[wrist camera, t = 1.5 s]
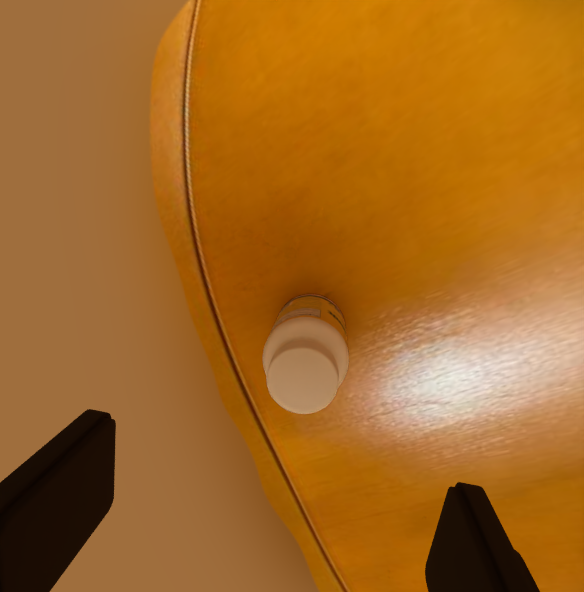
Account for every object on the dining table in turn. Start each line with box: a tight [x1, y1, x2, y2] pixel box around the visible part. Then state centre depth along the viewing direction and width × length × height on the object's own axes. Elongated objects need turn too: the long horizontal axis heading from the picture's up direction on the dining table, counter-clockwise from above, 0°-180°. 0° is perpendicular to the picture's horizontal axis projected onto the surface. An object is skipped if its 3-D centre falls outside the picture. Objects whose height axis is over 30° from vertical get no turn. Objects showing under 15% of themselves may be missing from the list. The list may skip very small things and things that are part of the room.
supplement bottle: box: [263, 294, 349, 414], centre depth 26 cm, size 5×5×10 cm
